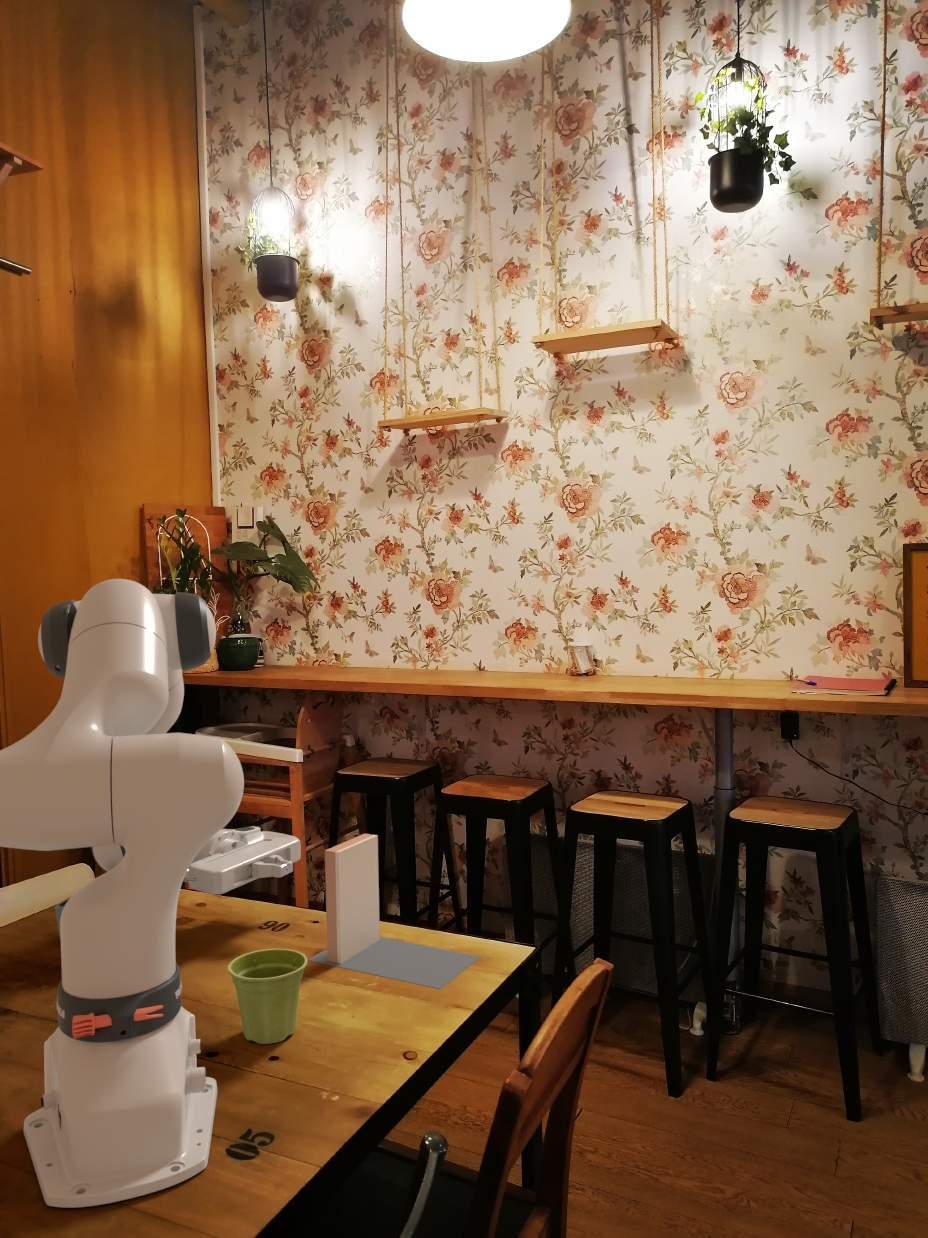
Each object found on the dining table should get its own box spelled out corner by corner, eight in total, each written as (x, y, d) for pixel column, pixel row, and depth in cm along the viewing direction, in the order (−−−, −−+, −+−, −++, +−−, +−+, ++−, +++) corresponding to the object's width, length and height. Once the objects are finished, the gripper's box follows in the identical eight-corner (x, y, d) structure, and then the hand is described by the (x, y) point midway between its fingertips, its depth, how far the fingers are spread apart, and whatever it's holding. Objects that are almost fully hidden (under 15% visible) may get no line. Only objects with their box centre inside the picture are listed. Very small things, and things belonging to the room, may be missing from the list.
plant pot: (227, 1022, 116) (225, 953, 116) (303, 1010, 119) (301, 943, 119) (232, 1058, 107) (230, 984, 107) (314, 1044, 110) (312, 972, 110)
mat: (307, 962, 134) (307, 960, 134) (355, 934, 145) (355, 932, 145) (440, 992, 124) (440, 989, 124) (481, 959, 135) (481, 956, 135)
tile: (327, 961, 134) (324, 850, 133) (366, 937, 143) (364, 833, 142) (341, 963, 133) (338, 852, 132) (379, 939, 142) (377, 835, 141)
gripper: (169, 856, 141) (240, 868, 134) (259, 823, 159) (325, 833, 152) (171, 897, 141) (241, 911, 134) (260, 860, 159) (326, 871, 152)
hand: (287, 869), depth 143 cm, fingers closed
